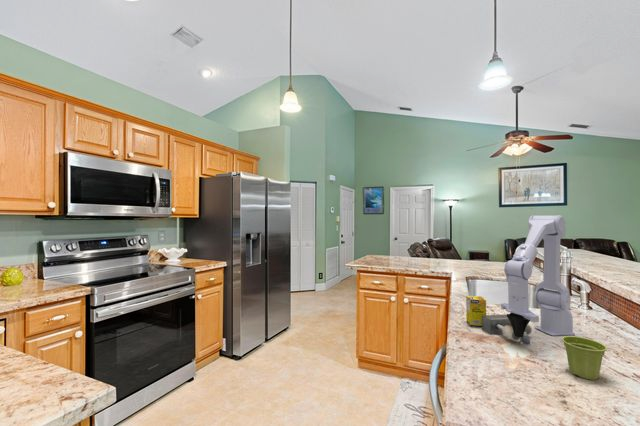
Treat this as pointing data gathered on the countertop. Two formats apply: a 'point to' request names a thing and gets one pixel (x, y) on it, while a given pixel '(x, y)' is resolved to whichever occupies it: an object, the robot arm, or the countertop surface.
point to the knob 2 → (528, 329)
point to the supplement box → (475, 310)
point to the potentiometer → (525, 339)
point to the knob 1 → (508, 331)
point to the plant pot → (584, 356)
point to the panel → (490, 322)
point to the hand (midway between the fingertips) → (518, 336)
